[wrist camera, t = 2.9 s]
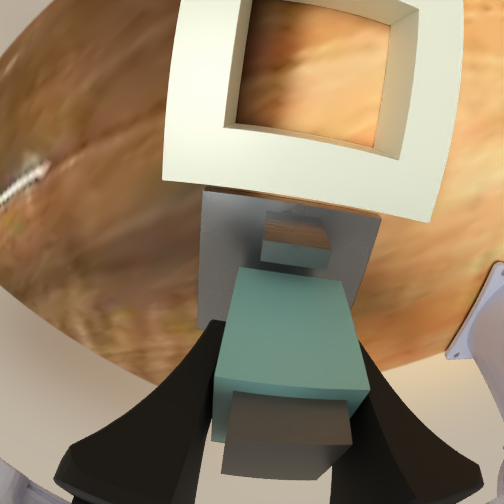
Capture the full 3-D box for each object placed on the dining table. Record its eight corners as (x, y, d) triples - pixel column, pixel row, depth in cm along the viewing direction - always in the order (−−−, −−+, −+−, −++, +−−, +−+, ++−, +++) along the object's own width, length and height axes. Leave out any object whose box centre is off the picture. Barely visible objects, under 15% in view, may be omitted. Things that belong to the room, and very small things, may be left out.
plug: (341, 281, 11) (379, 434, 5) (315, 351, 13) (325, 483, 7) (238, 266, 11) (203, 424, 5) (230, 340, 13) (204, 475, 7)
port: (430, 7, 8) (462, -8, 5) (401, 198, 12) (428, 223, 10) (213, -37, 8) (197, -67, 5) (186, 163, 12) (162, 179, 10)
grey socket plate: (377, 214, 13) (405, 249, 10) (334, 339, 17) (342, 387, 13) (206, 187, 13) (182, 215, 10) (199, 322, 17) (184, 368, 14)
